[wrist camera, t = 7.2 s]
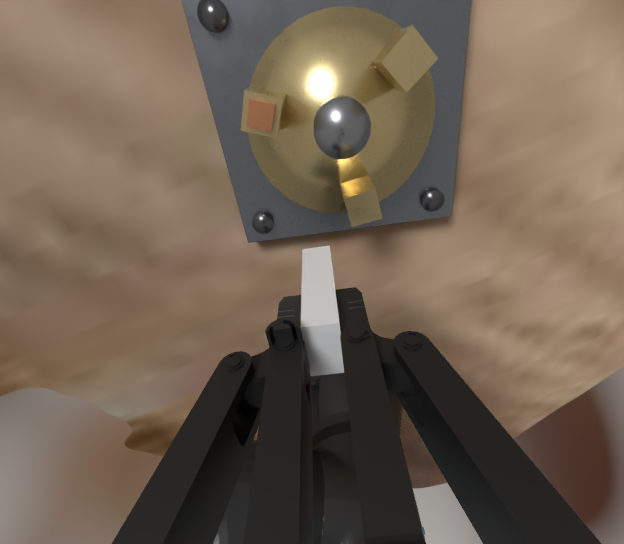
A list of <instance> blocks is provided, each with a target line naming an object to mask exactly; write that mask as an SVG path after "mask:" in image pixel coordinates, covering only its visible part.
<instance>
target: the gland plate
mask: <svg viewBox="0 0 624 544" xmlns="http://www.w3.org/2000/svg"><path fill="white" fill-rule="evenodd" d="M181 1H182V5H183V8H184V12H185V15H186V19H187V23H188V26H189V30H190V34H191V37H192V41H193V44H194V48H195V52H196V55H197V59H198V63H199V66H200V70H201V73H202V77H203V81H204V84H205V88H206V91H207V95H208V99H209V102H210V106H211V110H212V113H213V117H214V120H215V124H216V128H217V131H218V135H219V139H220V142H221V146H222V149H223V153H224V157H225V160H226V164H227V168H228V171H229V175H230V178H231V182H232V186H233V189H234V193H235V197H236V200H237V204H238V207H239V211H240V215H241V218H242V222H243V226H244V229H245V233H246V236H247V240H248V243H250V242H257V241H265V240H273V239H280V238H288V237H296V236H303V235H311V234H319V233H326V232H334V231H341V230H349V229H357V228H364V227H372V226H380V225H387V224H395V223H403V222H410V221H418V220H426V219H433V218H441V217H449V216H452V206H453V195H454V184H455V173H456V162H457V151H458V140H459V129H460V118H461V107H462V96H463V85H464V74H465V63H466V52H467V41H468V30H469V19H470V8H471V0H181ZM338 6H351V7H359V8H364V9H369V10H371V11H374V12H377V13H380V14H382V15H384V16H385V17H387V18H389V19H391V20H392V21H394V22H395V23H396V24H398V25H399V26H400V27H401V28H405V27H408V26H411V25H413V26H414V27H415V28H416V30H417V31H418V32H419V34H420V35H421V36H422V38H423V39H424V40H425V42H426V43H427V44H428V46H429V47H430V48H431V50H432V51H433V52H434V53H435V55H436V56H437V57H438V59H437V61H436V62H435V63H434V64H433V65H432V66H431V67H430V68H429V70H430V74H431V77H432V81H433V87H434V92H435V116H434V123H433V129H432V133H431V137H430V140H429V143H428V146H427V148H426V150H425V153H424V155H423V157H422V159H421V161H420V162H419V164H418V166H417V167H416V169H415V170H414V171H413V173H412V174H411V175H410V177H409V178H408V179H407V180H406V181H405V182H404V183H403V184H402V185H401V186H400V187H399V188H398V189H397V190H396V191H395V192H393V193H392V194H391V195H389V196H388V197H386V198H385V199H383V200H382V201H380V202H379V205H380V210H381V214H382V219H378V220H375V221H372V222H368V223H365V224H361V225H358V226H355V227H352V226H351V223H350V219H349V216H348V212H344V213H328V212H321V211H316V210H313V209H309V208H306V207H304V206H302V205H299V204H297V203H296V202H294V201H292V200H290V199H289V198H287V197H286V196H285V195H283V194H282V193H281V192H280V191H279V190H278V189H276V188H275V187H274V186H273V185H272V183H271V182H270V181H269V180H268V179H267V177H266V176H265V175H264V173H263V171H262V170H261V168H260V167H259V165H258V163H257V161H256V158H255V156H254V154H253V151H252V148H251V145H250V141H249V136H248V132H245V131H241V121H242V110H243V98H244V90H245V89H247V88H249V87H250V84H251V80H252V77H253V74H254V72H255V70H256V67H257V65H258V63H259V61H260V59H261V58H262V56H263V54H264V52H265V51H266V49H267V48H268V47H269V46H270V44H271V43H272V42H273V40H274V39H275V38H276V37H277V36H278V35H279V34H280V33H281V32H282V31H283V30H284V29H285V28H287V27H288V26H290V25H291V24H292V23H294V22H295V21H297V20H298V19H300V18H302V17H304V16H306V15H308V14H310V13H312V12H316V11H319V10H322V9H325V8H331V7H338Z"/></svg>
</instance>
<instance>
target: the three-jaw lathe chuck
mask: <svg viewBox="0 0 624 544" xmlns="http://www.w3.org/2000/svg"><path fill="white" fill-rule="evenodd" d="M437 59H438V57H437V56H436V55H435V53H434V52H433V51H432V50H431V48H430V47H429V46H428V44H427V43H426V42H425V40H424V39H423V38H422V36H421V35H420V34H419V32H418V31H417V30H416V28H415V27H414V26H413V25H411V26H408V27H405V28H401V27H400V26H399V25H398V24H396V23H395V22H394V21H392V20H391V19H389V18H387V17H385V16H384V15H382V14H380V13H377V12H374V11H371V10H369V9H364V8H359V7H351V6H338V7H331V8H325V9H322V10H319V11H316V12H312V13H310V14H308V15H306V16H304V17H302V18H300V19H298V20H297V21H295V22H294V23H292V24H291V25H290V26H288V27H287V28H285V29H284V30H283V31H282V32H281V33H280V34H279V35H278V36H277V37H276V38H275V39H274V40H273V42H272V43H271V44H270V46H269V47H268V48H267V49H266V51H265V52H264V54H263V56H262V58H261V59H260V61H259V63H258V65H257V67H256V70H255V72H254V74H253V77H252V80H251V84H250V87H249V88H247V89H245V90H244V98H243V110H242V121H241V131H245V132H248V136H249V141H250V145H251V148H252V151H253V154H254V156H255V158H256V161H257V163H258V165H259V167H260V168H261V170H262V171H263V173H264V175H265V176H266V177H267V179H268V180H269V181H270V182H271V183H272V185H273V186H274V187H275V188H276V189H278V190H279V191H280V192H281V193H282V194H283V195H285V196H286V197H287V198H289V199H290V200H292V201H294V202H296V203H297V204H299V205H302V206H304V207H306V208H309V209H313V210H316V211H321V212H328V213H344V212H348V216H349V219H350V223H351V226H352V227H355V226H358V225H361V224H365V223H368V222H372V221H375V220H378V219H382V214H381V210H380V205H379V202H380V201H382V200H383V199H385V198H386V197H388V196H389V195H391V194H392V193H393V192H395V191H396V190H397V189H398V188H399V187H400V186H401V185H402V184H403V183H404V182H405V181H406V180H407V179H408V178H409V177H410V175H411V174H412V173H413V171H414V170H415V169H416V167H417V166H418V164H419V162H420V161H421V159H422V157H423V155H424V153H425V150H426V148H427V146H428V143H429V140H430V137H431V133H432V129H433V123H434V116H435V92H434V87H433V81H432V77H431V74H430V70H429V68H430V67H431V66H432V65H433V64H434V63H435V62H436V61H437Z"/></svg>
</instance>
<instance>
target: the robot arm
mask: <svg viewBox="0 0 624 544" xmlns="http://www.w3.org/2000/svg"><path fill="white" fill-rule="evenodd" d="M277 317H278V318H277V320H276V321H274V322H272V323H271V324H270V325H269V326H267V328H266V331H265V332H266V335H267V339H268V342H269V346H270V348H269V349H267V350H266V351H264V352H262V353H260V354H257V355H255V356H252V357H251V356H250V355H249V354H248V353H246V352H242V351H240V352H234V353H231V354H229V355H227V356H226V357H224V358H223V359H222V360H221V362H220V363H219V364H218V366H217V368H216V369H215V371H214V373H213V375H212V376H211V378H210V380H209V381H208V383H207V385H206V386H205V388H204V390H203V391H202V393H201V395H200V396H199V398H198V400H197V401H196V403H195V405H194V406H193V408H192V410H191V411H190V413H189V415H188V416H187V418H186V420H185V422H184V423H183V425H182V427H181V428H180V430H179V432H178V433H177V435H176V437H175V438H174V440H173V442H172V443H171V445H170V447H169V448H168V450H167V452H166V453H165V455H164V457H163V458H162V460H161V462H160V464H159V465H158V467H157V469H156V470H155V472H154V474H153V475H152V477H151V479H150V480H149V482H148V484H147V485H146V487H145V489H144V490H143V492H142V494H141V496H140V497H139V499H138V500H137V502H136V504H135V506H134V507H133V509H132V511H131V512H130V514H129V516H128V517H127V519H126V521H125V522H124V524H123V526H122V527H121V529H120V531H119V532H118V534H117V536H116V538H115V539H114V541H113V543H112V544H426V542H425V537H424V535H425V532H424V528H423V527H422V525H421V521H420V517H419V513H418V509H417V505H416V501H415V497H414V493H413V489H412V484H411V480H410V476H409V472H408V468H407V464H406V460H405V456H404V452H403V448H402V444H401V440H400V426H401V415H402V405H403V407H404V409H405V411H406V412H407V414H408V416H409V417H410V419H411V421H412V423H413V424H414V426H415V428H416V429H417V431H418V433H419V434H420V436H421V438H422V440H423V441H424V443H425V445H426V446H427V448H428V450H429V452H430V453H431V455H432V457H433V458H434V460H435V462H436V464H437V465H438V467H439V469H440V470H441V472H442V474H443V475H444V477H445V479H446V481H447V482H448V484H449V486H450V487H451V489H452V491H453V493H454V494H455V496H456V498H457V499H458V501H459V503H460V505H461V506H462V508H463V510H464V511H465V513H466V515H467V516H468V518H469V520H470V522H471V523H472V525H473V527H474V528H475V530H476V532H477V534H478V535H479V537H480V539H481V540H482V542H483V544H601V543H600V542H599V540H598V539H597V538H596V537H595V536H594V534H593V533H592V532H591V531H590V530H589V529H588V527H587V526H586V525H585V524H584V523H583V521H582V520H581V519H580V518H579V517H578V516H577V514H576V513H575V512H574V511H573V510H572V508H571V507H570V506H569V505H568V504H567V502H566V501H565V500H564V499H563V498H562V497H561V495H560V494H559V493H558V492H557V491H556V490H555V488H554V487H553V486H552V485H551V484H550V482H549V481H548V480H547V479H546V478H545V476H544V475H543V474H542V473H541V472H540V470H539V469H538V468H537V467H536V466H535V465H534V463H533V462H532V461H531V460H530V459H529V457H528V456H527V455H526V454H525V453H524V452H523V451H522V449H521V448H520V447H519V446H518V445H517V443H516V442H515V441H514V440H513V438H512V437H511V436H510V435H509V434H508V433H507V431H506V430H505V429H504V428H503V427H502V425H501V424H500V423H499V422H498V421H497V420H496V418H495V417H494V416H493V415H492V414H491V412H490V411H489V410H488V409H487V408H486V407H485V405H484V404H483V403H482V402H481V401H480V399H479V398H478V397H477V396H476V395H475V393H474V392H473V391H472V390H471V389H470V388H469V386H468V385H467V384H466V383H465V382H464V380H463V379H462V378H461V377H460V376H459V375H458V373H457V372H456V371H455V370H454V369H453V367H452V366H451V365H450V364H449V363H448V361H447V360H446V359H445V358H444V357H443V356H442V354H441V353H440V352H439V351H438V350H437V348H436V347H435V346H434V345H433V344H432V343H431V341H430V340H429V339H428V338H427V337H426V336H425V335H423V334H421V333H418V332H413V331H407V332H402V333H400V334H398V335H397V336H396V337H395V339H388V338H383V337H380V336H378V335H376V334H375V333H373V332H372V330H371V328H370V326H369V322H368V318H367V314H366V309H365V305H364V301H363V297H362V293H361V292H360V291H359V290H358V289H357V288H356V287H355V288H347V289H339V290H335V284H334V277H333V269H332V261H331V253H330V246H323V247H316V248H308V249H303V255H302V292H301V295H296V296H288V297H284V298H283V299H282V300H281V302H280V303H279V308H278V316H277ZM258 426H259V430H258V438H257V441H256V440H253V439H254V436H255V434H256V431H257V429H258Z"/></svg>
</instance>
